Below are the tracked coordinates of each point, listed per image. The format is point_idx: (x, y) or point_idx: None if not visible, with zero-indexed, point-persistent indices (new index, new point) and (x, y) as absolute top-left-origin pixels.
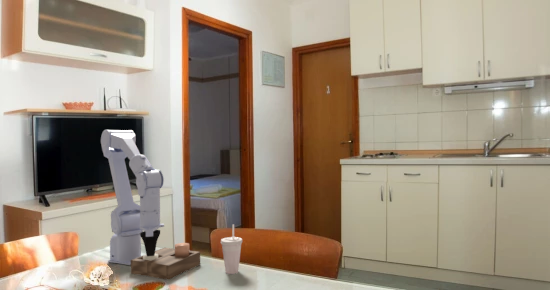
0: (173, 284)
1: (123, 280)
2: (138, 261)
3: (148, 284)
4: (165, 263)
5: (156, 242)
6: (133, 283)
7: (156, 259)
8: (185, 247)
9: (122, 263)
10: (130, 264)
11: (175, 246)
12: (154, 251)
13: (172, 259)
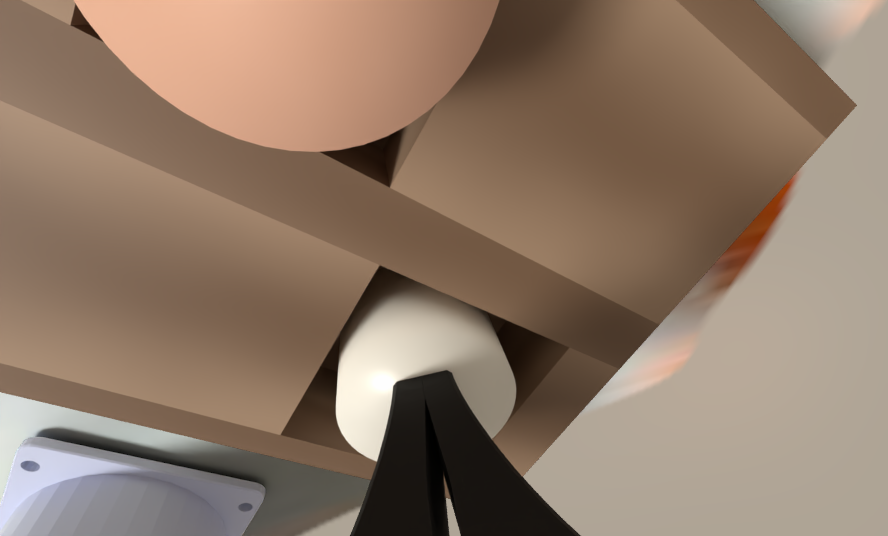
0: (867, 9)
1: (601, 406)
2: (548, 444)
3: (754, 232)
4: (749, 165)
5: (546, 505)
6: (685, 334)
7: (539, 309)
8: None
9: (242, 534)
10: (258, 484)
11: (424, 110)
12: (467, 405)
13: (603, 99)
